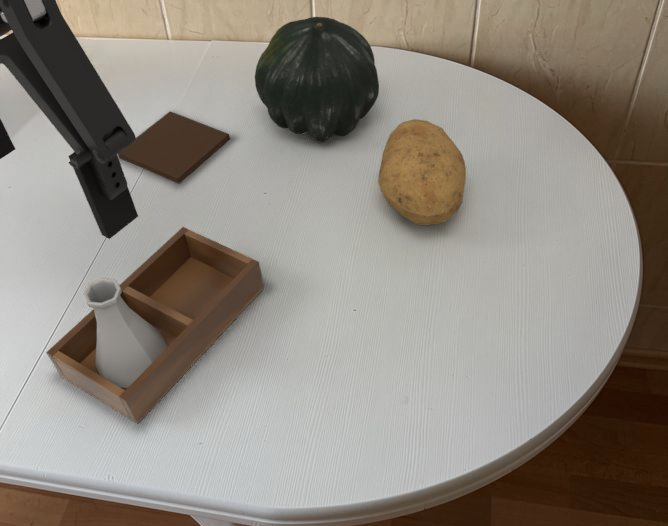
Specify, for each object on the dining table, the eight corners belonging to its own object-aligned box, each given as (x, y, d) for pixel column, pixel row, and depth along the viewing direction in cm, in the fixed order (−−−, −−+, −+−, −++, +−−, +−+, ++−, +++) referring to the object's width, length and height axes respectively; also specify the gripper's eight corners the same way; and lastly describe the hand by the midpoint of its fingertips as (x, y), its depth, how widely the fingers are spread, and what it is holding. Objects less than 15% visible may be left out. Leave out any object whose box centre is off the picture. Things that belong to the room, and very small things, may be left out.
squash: (294, 32, 94) (254, -18, 79) (401, 53, 90) (379, 5, 76) (268, 138, 96) (223, 108, 81) (371, 163, 92) (345, 136, 78)
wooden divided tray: (61, 377, 68) (45, 352, 65) (191, 253, 77) (183, 226, 74) (137, 424, 64) (125, 400, 61) (264, 288, 74) (259, 261, 70)
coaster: (118, 157, 88) (116, 152, 88) (171, 116, 93) (169, 110, 92) (178, 183, 85) (177, 178, 84) (230, 139, 89) (229, 133, 89)
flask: (170, 325, 71) (143, 254, 63) (172, 383, 66) (144, 315, 58) (97, 337, 70) (61, 267, 62) (95, 396, 66) (56, 330, 58)
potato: (384, 253, 76) (385, 196, 69) (372, 170, 84) (371, 112, 78) (475, 246, 76) (483, 188, 69) (453, 163, 84) (459, 105, 78)
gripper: (130, -135, 31) (218, 225, 48) (-168, -214, 40) (-7, 108, 57) (-11, -69, 27) (137, 294, 44) (-300, -173, 37) (-88, 157, 54)
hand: (56, 190), depth 51 cm, fingers open, 13 cm apart
